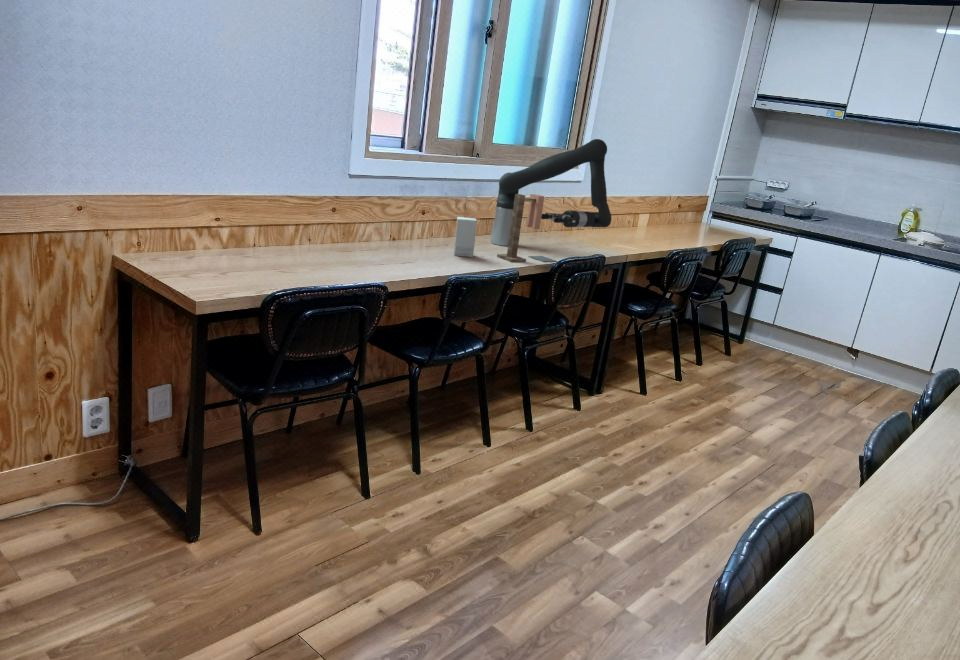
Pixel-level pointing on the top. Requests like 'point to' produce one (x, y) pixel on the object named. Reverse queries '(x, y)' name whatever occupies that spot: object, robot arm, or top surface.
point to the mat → (542, 258)
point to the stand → (515, 229)
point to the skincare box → (465, 236)
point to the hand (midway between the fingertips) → (547, 218)
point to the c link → (535, 212)
